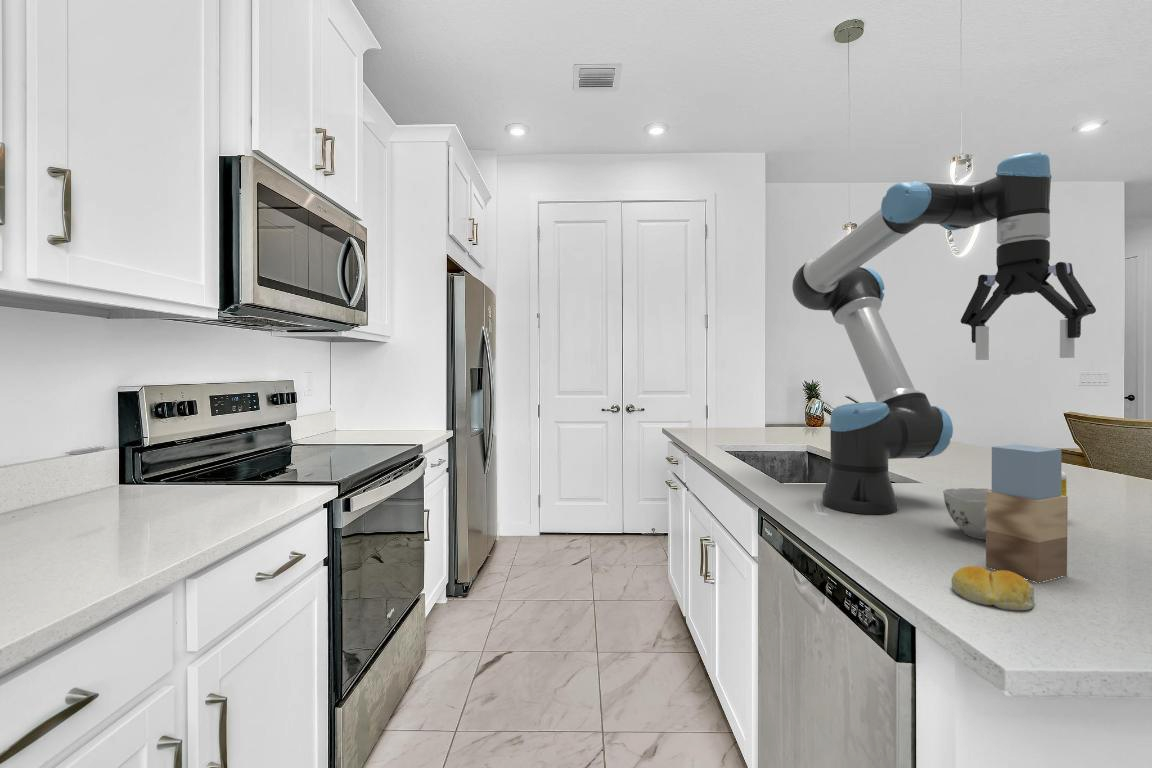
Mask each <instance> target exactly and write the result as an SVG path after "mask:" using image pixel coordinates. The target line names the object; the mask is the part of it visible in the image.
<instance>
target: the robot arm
mask: <svg viewBox="0 0 1152 768" xmlns="http://www.w3.org/2000/svg"><path fill="white" fill-rule="evenodd" d="M1050 161H1051V160H1050V157H1049V156H1048V154H1046V153H1045V152H1038V151H1036V152H1035V151H1032V152H1024V153H1019V154H1015V155H1011V156H1009V157H1006V158H1005V159H1002V160H1001V161H1000V162H999V163H998V164H997V167H996V172H995V175H996V176H995V177H993V178H990V179H988V180H986V181H982V182H980V183H977V184H973V185H968V184H966V185H965V184H949V183H934V182H923V181H906V182H905V181H902V182H897V183H895V184H893V185H891V186H890V187H889V188H888V189H887V190H886V194H885V195H884V196H883V197H882V199H881V203H880V204H881V205H880V208H879V209H878V210H877V211H876V212H875V213H873V214H872V215H871V216H869V217H868V218H867V219H865V220H864V221H863V222H862V223H860V225H858V226H857V227H856V228H854V229H853V230H852V231H851V232H849V233H848V234H847V235H845V236H844V237H843V238H842V239H840V240H839V241H838V242H836V244H834V245H833V246H831V247H830V248H829V249H828V250H826V251H825V252H824V253H823V254H821V255H820V256H819V257H817V256H816V257H812V258H810V259H809V260H807V261H806V262H804V264H803V265H802V266H800V268H799V269H798V270H797V271H796V273H795V275H794V277H793V279H792V284H791V285H792V292H793V293H792V294H793V296H794V299H796V300H797V302H798V303H799V304H800V305H801V306H803V307H804V308H806V309H808V310H813V311H830V312H831V314H832V317H833V319H834V321H835V323H837V324H838V325H842V326H843V327H844V329H845V331H846V333H847V336H848V339H849V341H850V343H851V345H852V348H853V351H854V352H855V355H856V357H857V359H858V362H859V364H860V366H861V370H862V371H863V374H864V376H865V378H866V381H867V383H868V385H869V388H870V390H871V392H872V395H873V397H874V400H875V401H868V402H867V401H866V402H865V401H864V402H855V403H846V404H842V405H838V406H836V407H835V408H833V410H832V411H831V413H830V421H829V423H830V424H829V429H830V470H829V474H828V476H827V480H826V483H825V487H824V490H822V493H821V494H822V495H821V498H822V500H821V502H822V505H823V506H826V507H828V508H830V509H834V510H836V511H842V512H847V513H853V514H863V515H884V514H887V515H888V514H893V513H896V512H897V511H898V498H897V496H896V495H895V491H894V488H893V485H892V481H891V478H890V476H889V460H890V459H891V460H894V459H895V460H897V459H925V458H929V457H935V456H939V455H940V454H942V453H943V452H945V451H946V450H947V448H948V447H949V445H950V443H951V439H952V438H953V433H954V427H953V422H952V421H953V420H952V419H951V417H950V415H949V414H948V413H947V411H946V410H945V409H943V408H940V407H938V406H937V405H936V406H935V405H933V406H932V405H931V403H930V401H929V399H928V397H927V395H926V393H925V392H924V391H923V392H922V391H920V390H916V388H915V386H914V384H913V382H912V380H911V378H910V376H909V374H908V372H907V369H906V367H905V365H904V363H903V361H902V358H901V357H900V355H899V352H898V351H897V348H896V346H895V344H894V342H893V339H892V337H891V336H890V333H889V330H888V329H887V327H886V324H885V323H884V321H883V318H882V317H881V315H880V312H879V311H880V309H881V308H882V304H883V303H882V302H883V300H884V297H885V292H884V290H885V283H884V280H883V278H882V277H881V275H880V274H879V273H878V272H877V271H876V270H874V269H872V268H869V267H863V265H864V264H866V263H867V262H868V261H870V260H872V259H873V258H875V257H876V256H878V255H879V254H880V253H882V252H883V251H884V250H886V249H888V248H889V247H890V246H893V244H895V243H897V242H898V241H899V240H901V239H902V238H903V237H905V236H906V235H908V234H909V233H911V232H913V231H914V230H915V229H916V228H919V227H920V226H921V225H925V224H928V225H930V224H931V225H939V226H941V227H943V228H944V229H945V230H947V231H957V230H962V229H963V230H964V229H968V228H971V227H974V226H976V225H979V224H984V223H986V222H989V221H992V220H995V219H996V244H998V246H997V248H996V256H995V257H996V268H997V272H996V274H980V275H979V276H978V278H977V285H976V289H975V290H974V292H973V295H972V296H971V299H970V301H969V302H968V304H967V307H966V309H965V310H964V313H963V315H962V317H961V318H960V324H962V325H967V326H970V327H971V342H972V344H975V361H989V359H990V358H989V356H990V355H989V351H990V346H989V343H990V342H989V341H990V338H989V337H990V335H989V334H990V333H989V331H990V326H987V322H988V321H989V320H990V318H991V317H992V316H993V315H994V314H995V313H996V312H997V311H998V309H999V308H1000V307H1001V306H1002V304H1003V303H1004V302H1005V301H1006V300H1007V299H1009V298H1010V297H1011V296H1018V295H1023V294H1034V293H1035V294H1036V293H1037V294H1039V295H1041V296H1042V297H1043V298H1044V299H1045V300H1046V301H1047V302H1048V303H1050V304H1051V305H1052V306H1053V307H1054V308H1055V309H1056V310H1058V311H1059V312H1060V314H1062V315H1063V316H1064V318H1063V319H1060V320H1059V358H1060V359H1065V358H1066V359H1070V358H1072V359H1073V358H1075V339H1077V338H1080V337H1081V335H1082V333H1081V330H1082V329H1081V328H1082V325H1081V324H1082V319H1083V318H1084V317H1086V316H1089V315H1093V314H1095V313H1096V311H1097V309H1096V307H1095V305H1094V304H1093V302H1092V300H1091V299H1090V298H1089V296H1088V295H1087V294H1086V292H1085V290H1084V289H1083V288H1082V286H1081V284H1080V283H1079V281H1078V280H1077V278H1076V277H1075V275H1074V269H1073V264H1072V263H1071V262H1065V261H1059V262H1057V263H1055V264H1053V265H1050V260H1051V259H1050V258H1051V242H1050V241H1049V240H1048V239H1049V238H1050V237H1051V211H1050V210H1051V209H1050V201H1051V200H1050V199H1051V183H1052V175H1051V166H1050V165H1051V163H1050ZM1052 274H1053V276H1054V277H1057V279H1058V281H1059V283H1060V285H1061V286H1062V288H1063V290H1065V292H1066V294H1067V295H1068V297H1069V298H1070V300H1071V301H1072V303H1073V304H1071V302H1070V301H1068V299H1066V298H1065V297H1064V296H1063V295H1062V294H1061V293H1059V292H1058V291H1057V290H1056V289H1055V287H1054V286H1053V285H1052V284H1051V283H1050V282H1048V281H1047V280H1048V278H1049V277H1050V276H1051V275H1052ZM996 283H997V284H998V286H997V287H996V288H995V289H994V291H993V292H992V296H991V297H990V298H988V297H989V294H990V292H991V290H992V289H993V288H992V287H993V286H994V285H995V284H996ZM987 298H988V300H987ZM986 300H987V301H986Z"/></svg>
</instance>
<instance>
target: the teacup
mask: <svg viewBox="0 0 1152 768" xmlns="http://www.w3.org/2000/svg"><path fill="white" fill-rule="evenodd" d="M986 491H992V489H989V488H976V487H975V488H973V487H972V488H968V487H967V488H966V487H963V488H945V489H944V490H943V498H944V499H943V500H944V503H945V506H946V510H947V511H948V515H949V516H950V517H951V519H952V521H953V522H954V523H955V524H956V526H958V528H960V529H961V530H962V531H963V533H964V534H965V535H966V536H968V537H970V538H973V539H978V540H981V539H982V541H986Z"/></svg>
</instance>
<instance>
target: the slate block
mask: <svg viewBox="0 0 1152 768" xmlns="http://www.w3.org/2000/svg"><path fill="white" fill-rule="evenodd" d="M1062 451H1063V450H1062V449H1061V448H1054V447H1045V446H1044V447H1043V446H1033V445H1023V444H1007V445H998V446H996V445H995V446H991V490H992V492H995V493H1000V494H1006V495H1011V496H1017V497H1022V498H1028V499H1033V500H1041V499H1047V498H1053V497H1059V496H1061V470H1062V461H1063V460H1062V457H1063V455H1062Z"/></svg>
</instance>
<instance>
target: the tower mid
mask: <svg viewBox="0 0 1152 768" xmlns="http://www.w3.org/2000/svg"><path fill="white" fill-rule="evenodd" d="M1068 497H1069V496H1067V495H1066V496H1062V495H1061V496H1059V497H1053V498H1047V499H1041V500H1033V499H1028V498H1022V497H1017V496H1011V495H1006V494H1000V493H995V492H992V491H986V530H990V531H994V532H998V533H1002V534H1006V535H1010V536H1014V537H1018V538H1022V539H1026V540H1030V541H1034V542H1038V543H1039V542H1044V541H1049V540H1053V539H1058V538H1063V537H1067V538H1068V508H1069V507H1068Z"/></svg>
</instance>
